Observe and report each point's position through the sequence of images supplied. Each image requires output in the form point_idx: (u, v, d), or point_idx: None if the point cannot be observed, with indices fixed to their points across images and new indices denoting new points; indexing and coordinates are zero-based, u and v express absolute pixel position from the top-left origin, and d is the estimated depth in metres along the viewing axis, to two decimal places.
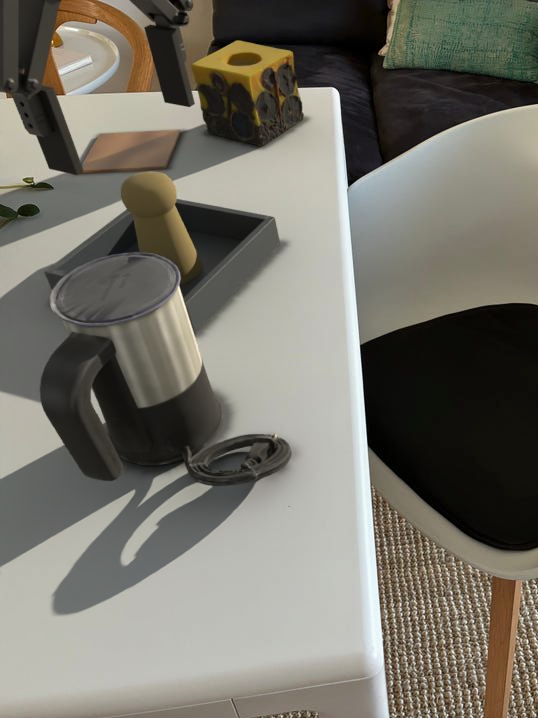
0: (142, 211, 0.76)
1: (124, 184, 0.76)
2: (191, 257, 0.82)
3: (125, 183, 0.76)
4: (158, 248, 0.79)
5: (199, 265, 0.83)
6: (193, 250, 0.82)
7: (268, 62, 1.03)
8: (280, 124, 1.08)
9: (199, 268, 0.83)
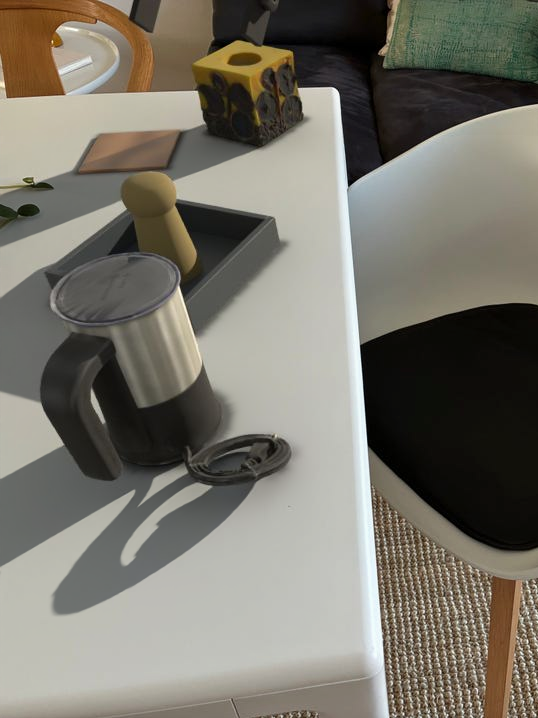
0: (142, 211, 0.76)
1: (124, 184, 0.76)
2: (191, 257, 0.82)
3: (125, 183, 0.76)
4: (158, 248, 0.79)
5: (199, 265, 0.83)
6: (193, 250, 0.82)
7: (268, 62, 1.03)
8: (280, 124, 1.08)
9: (199, 268, 0.83)
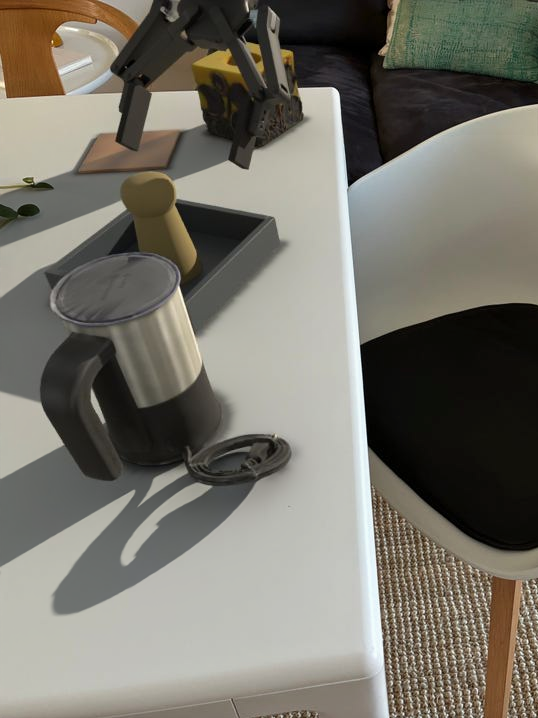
0: (142, 211, 0.76)
1: (124, 184, 0.76)
2: (191, 257, 0.82)
3: (125, 183, 0.76)
4: (158, 248, 0.79)
5: (199, 265, 0.83)
6: (193, 250, 0.82)
7: None
8: (280, 124, 1.08)
9: (199, 268, 0.83)
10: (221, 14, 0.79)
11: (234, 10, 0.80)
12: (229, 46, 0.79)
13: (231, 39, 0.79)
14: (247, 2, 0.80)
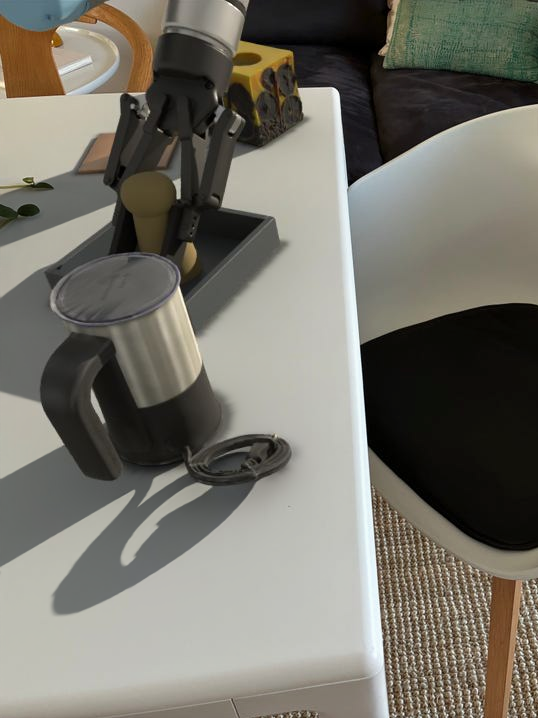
0: (142, 211, 0.76)
1: (124, 184, 0.76)
2: (191, 257, 0.82)
3: (125, 182, 0.76)
4: (158, 248, 0.79)
5: (199, 265, 0.83)
6: (193, 250, 0.82)
7: (268, 62, 1.03)
8: (280, 124, 1.08)
9: (199, 268, 0.83)
10: (186, 108, 0.77)
11: (202, 100, 0.78)
12: (182, 141, 0.78)
13: (186, 136, 0.77)
14: (216, 91, 0.78)
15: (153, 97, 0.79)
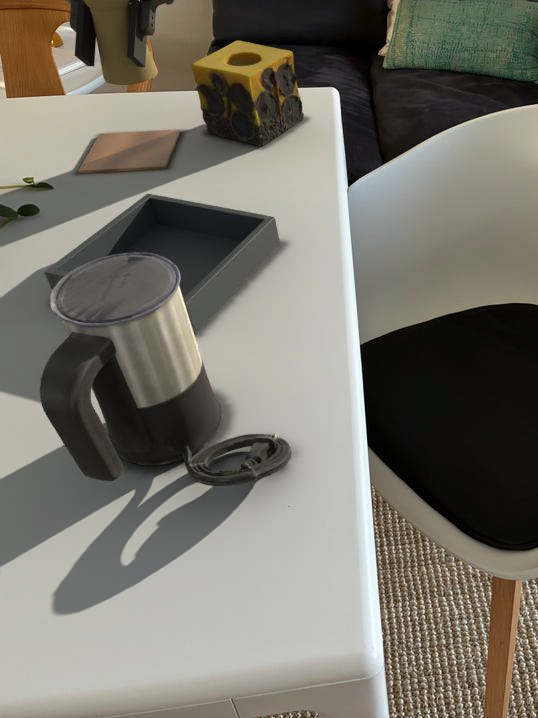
0: (106, 3, 0.84)
1: None
2: (149, 56, 0.90)
3: None
4: (122, 43, 0.87)
5: (156, 67, 0.91)
6: (149, 51, 0.90)
7: (268, 62, 1.03)
8: (280, 124, 1.08)
9: (156, 69, 0.91)
10: None
11: None
12: None
13: None
14: None
15: None
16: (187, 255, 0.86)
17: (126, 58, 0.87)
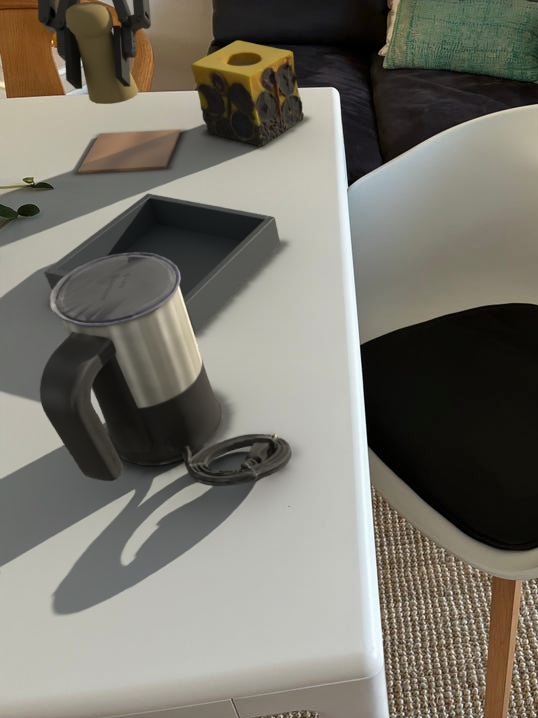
0: (93, 31, 0.93)
1: (70, 11, 0.92)
2: (130, 76, 0.99)
3: (70, 10, 0.92)
4: (107, 66, 0.96)
5: (136, 86, 1.01)
6: None
7: (268, 62, 1.03)
8: (280, 124, 1.08)
9: None
10: None
11: None
12: None
13: None
14: None
15: None
16: (187, 255, 0.86)
17: (112, 79, 0.97)
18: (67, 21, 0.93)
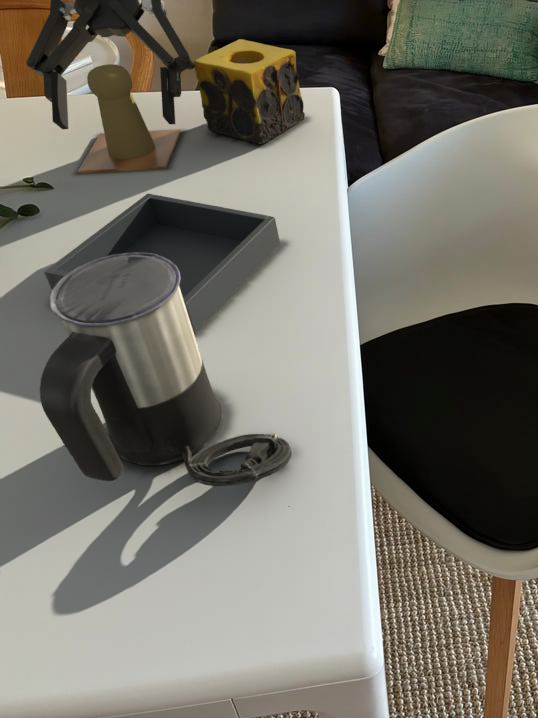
0: (113, 93, 0.98)
1: (92, 74, 0.97)
2: (148, 132, 1.04)
3: (92, 73, 0.97)
4: (126, 124, 1.01)
5: None
6: (146, 127, 1.05)
7: (270, 61, 1.03)
8: (281, 122, 1.08)
9: (153, 142, 1.06)
10: (121, 5, 0.99)
11: (129, 1, 1.00)
12: (134, 30, 1.00)
13: (135, 24, 1.00)
14: None
15: (83, 6, 1.00)
16: (187, 255, 0.86)
17: (130, 136, 1.02)
18: (89, 84, 0.98)
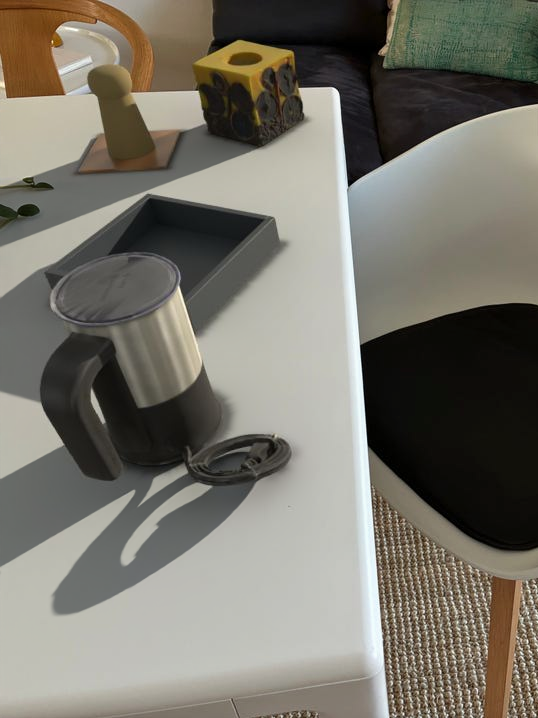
0: (113, 93, 0.98)
1: (91, 74, 0.97)
2: (147, 132, 1.04)
3: (92, 73, 0.97)
4: (126, 124, 1.01)
5: None
6: (146, 127, 1.05)
7: (268, 62, 1.03)
8: (281, 124, 1.08)
9: (153, 142, 1.06)
10: None
11: None
12: None
13: None
14: None
15: None
16: (187, 255, 0.86)
17: (130, 136, 1.02)
18: (89, 84, 0.98)
